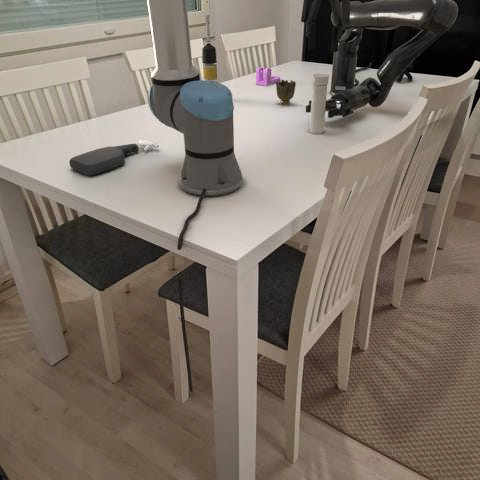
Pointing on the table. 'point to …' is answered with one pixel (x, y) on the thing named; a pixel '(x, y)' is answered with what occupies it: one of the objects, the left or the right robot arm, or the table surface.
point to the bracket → (265, 77)
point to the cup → (285, 91)
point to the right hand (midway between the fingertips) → (317, 111)
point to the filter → (209, 57)
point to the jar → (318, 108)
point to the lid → (320, 79)
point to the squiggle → (404, 71)
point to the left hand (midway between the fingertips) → (322, 50)
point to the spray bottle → (106, 157)
